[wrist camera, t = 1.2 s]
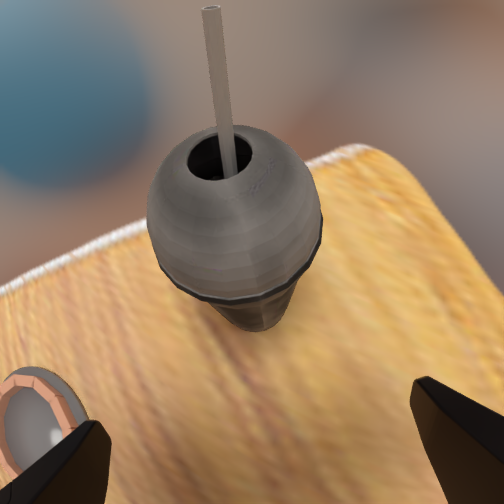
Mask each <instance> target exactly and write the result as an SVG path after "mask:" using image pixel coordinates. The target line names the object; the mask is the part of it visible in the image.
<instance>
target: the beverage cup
mask: <svg viewBox="0 0 504 504" xmlns="http://www.w3.org/2000/svg"><path fill="white" fill-rule="evenodd" d="M201 11H202V18H203V27H204V35H205V42H206V50H207V58H208V64H209V73H210V80H211V88H212V94H213V102H214V109H215V116H216V123H217V126H216V127H211V128H207V129H205V130H202V131H200V132H198V133H195V134H193V135H191V136H190V137H188V138H187V139H186V140H184V141H183V142H181V143H180V144H179V145H177V146H176V147H174V148H173V150H172V151H171V152H170V153H169V154H168V155H167V157H166V158H165V159H164V160H163V161H162V163H161V164H160V166H159V167H158V169H157V172H156V174H155V176H154V179H153V181H152V183H151V186H150V189H149V192H148V202H147V228H148V232H149V235H150V238H151V241H152V246H153V249H154V252H155V254H156V257H157V260H158V263H159V266H160V268H161V270H162V271H163V272H164V273H165V274H166V276H167V277H168V278H169V279H170V280H171V281H172V282H173V284H174V285H175V286H176V287H177V288H179V289H180V290H182V291H184V292H186V293H188V294H189V295H191V296H193V297H195V298H197V299H199V300H201V301H205V302H208V303H209V304H210V305H211V306H212V307H214V308H215V309H216V310H217V311H218V312H219V313H221V314H222V315H223V316H224V317H225V318H226V319H228V320H229V321H230V322H231V323H232V324H234V325H236V326H238V327H239V328H241V329H243V330H246V331H252V332H258V331H265V330H267V329H269V328H271V327H273V326H274V325H275V324H276V323H277V322H278V321H279V320H280V319H281V317H282V316H283V314H284V312H285V310H286V308H287V306H288V304H289V301H290V299H291V296H292V294H293V291H294V289H295V286H296V283H297V281H298V279H299V278H300V277H301V276H302V274H303V273H304V272H305V271H306V270H307V269H308V268H309V267H310V265H311V263H312V261H313V259H314V257H315V255H316V253H317V251H318V249H319V246H320V244H321V238H322V227H323V216H322V213H321V209H320V207H321V205H320V201H319V196H318V193H317V190H316V186H315V183H314V180H313V177H312V174H311V173H310V171H309V169H308V167H307V166H306V165H305V163H304V162H303V161H302V160H301V158H300V157H299V156H298V155H297V153H296V152H295V151H294V150H293V149H292V148H291V147H290V146H289V145H288V144H286V143H285V142H283V141H282V140H280V139H278V138H277V137H275V136H274V135H272V134H270V133H268V132H267V131H263V130H260V129H257V128H253V127H250V126H244V125H233V123H232V114H231V104H230V94H229V85H228V77H227V76H228V75H227V66H226V56H225V46H224V36H223V28H222V27H223V26H222V16H221V7H220V6H207V7H204V8H202V9H201Z"/></svg>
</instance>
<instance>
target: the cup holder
mask: <svg viewBox="0 0 504 504" xmlns="http://www.w3.org/2000/svg"><path fill="white" fill-rule="evenodd" d="M85 420H89V418H88V416H87V413H86V411H85V409H84V407H83V405H82V403H81V402H80V400H79V398H78V397H77V395H76V394H75V392H74V391H73V390H72V389H71V387H70V386H69V385H68V384H67V383H66V382H65V381H64V380H63V379H62V378H60V377H59V376H57V375H56V374H54V373H52V372H50V371H48V370H45V369H42V368H39V367H23V368H20V369H18V370H15V371H14V372H13V373H11V374H10V375H9V376H8V377H7V378H6V379H5V381H4V382H3V383H2V384H1V385H0V462H1V464H2V466H3V468H4V470H5V471H6V472H7V473H8V474H9V475H10V476H11V478H12V479H13V480H14V479H15V478H16V477H17V476H19V475H20V474H21V473H22V472H24V471H25V470H26V469H27V468H28V467H30V466H31V465H32V464H33V463H35V462H36V461H37V460H38V459H39V458H41V457H42V456H43V455H44V454H46V453H47V452H48V451H49V450H50V449H52V448H53V447H54V446H55V445H56V444H58V443H59V442H60V441H61V440H62V439H64V438H65V437H66V436H67V435H68V434H70V433H71V432H72V431H73V430H74V429H76V428H77V427H78V426H79V425H80V424H82V423H83V422H84V421H85Z"/></svg>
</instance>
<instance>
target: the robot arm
mask: <svg viewBox="0 0 504 504" xmlns="http://www.w3.org/2000/svg"><path fill="white" fill-rule="evenodd" d="M410 407H411V410H412V413H413V416H414V419H415V422H416V425H417V428H418V431H419V434H420V437H421V440H422V443H423V446H424V449H425V451H426V454H427V456H428V458H429V460H430V462H431V465H432V467H433V469H434V471H435V474H436V476H437V478H438V480H439V483H440V485H441V487H442V490H443V492H444V494H445V497H446V499H447V501H448V504H504V416H502V415H500V414H498V413H496V412H494V411H493V410H491V409H489V408H487V407H485V406H483V405H481V404H479V403H477V402H476V401H474V400H472V399H470V398H468V397H466V396H464V395H462V394H461V393H459V392H457V391H455V390H453V389H451V388H450V387H448V386H446V385H444V384H442V383H440V382H438V381H437V380H435V379H433V378H431V377H429V376H424V377H421V378H418V379H415V380H414V382H413V385H412V390H411V395H410ZM111 445H112V443H111V438H110V436H109V435H108V433H107V432H106V430H105V429H104V427H103V426H102V424H101V423H100V422H99V421H97V420H85V421H84V422H83V423H82V424H80V425H79V426H78V427H77V428H76V429H74V430H73V431H72V432H71V433H70V434H68V435H67V436H66V437H65V438H64V439H62V440H61V441H60V442H59V443H58V444H56V445H55V446H54V447H53V448H52V449H50V450H49V451H48V452H47V453H46V454H44V455H43V456H42V457H41V458H39V459H38V460H37V461H36V462H35V463H33V464H32V465H31V466H30V467H28V468H27V469H26V470H25V471H24V472H22V473H21V474H20V475H19V476H17V477H16V478H15V479H14V480H13V481H12V482H10V483H9V484H7V485H6V486H5V487H4V488H2V489H1V490H0V504H104V503H105V497H106V492H107V486H108V478H109V466H110V455H111Z"/></svg>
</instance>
